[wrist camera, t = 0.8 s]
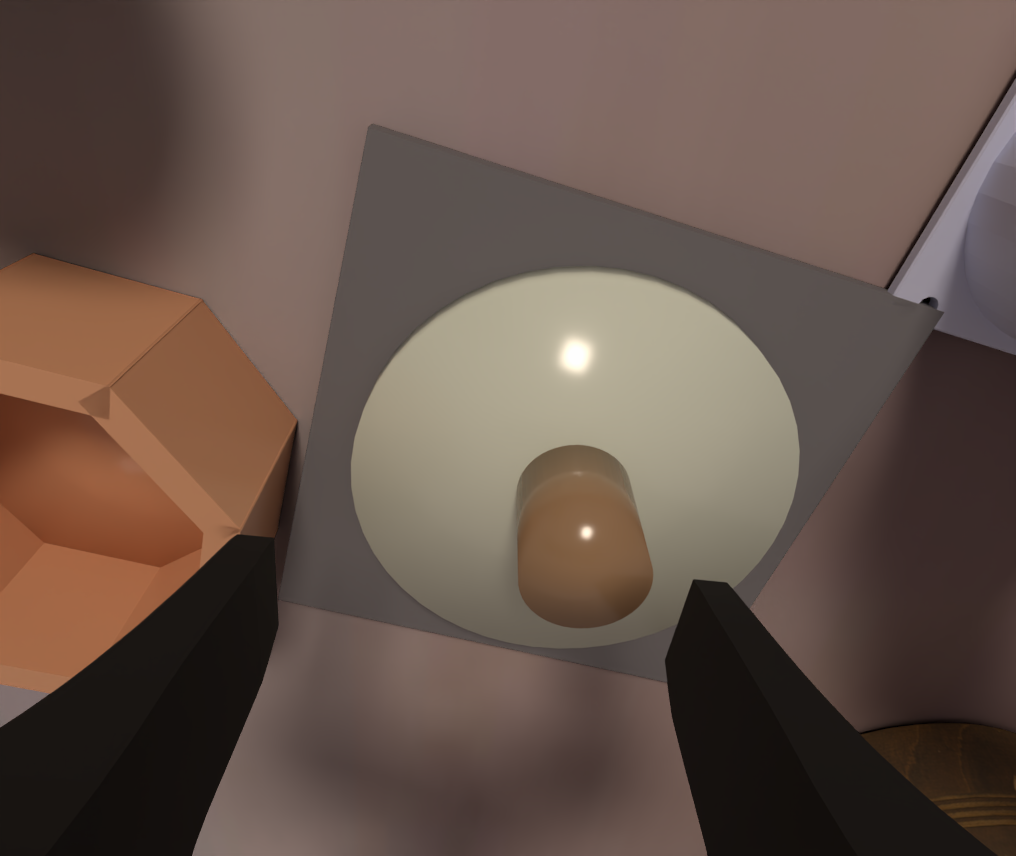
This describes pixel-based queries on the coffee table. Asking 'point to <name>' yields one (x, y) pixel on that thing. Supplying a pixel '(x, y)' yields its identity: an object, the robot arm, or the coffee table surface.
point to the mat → (546, 244)
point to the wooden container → (960, 774)
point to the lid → (573, 457)
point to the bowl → (118, 459)
